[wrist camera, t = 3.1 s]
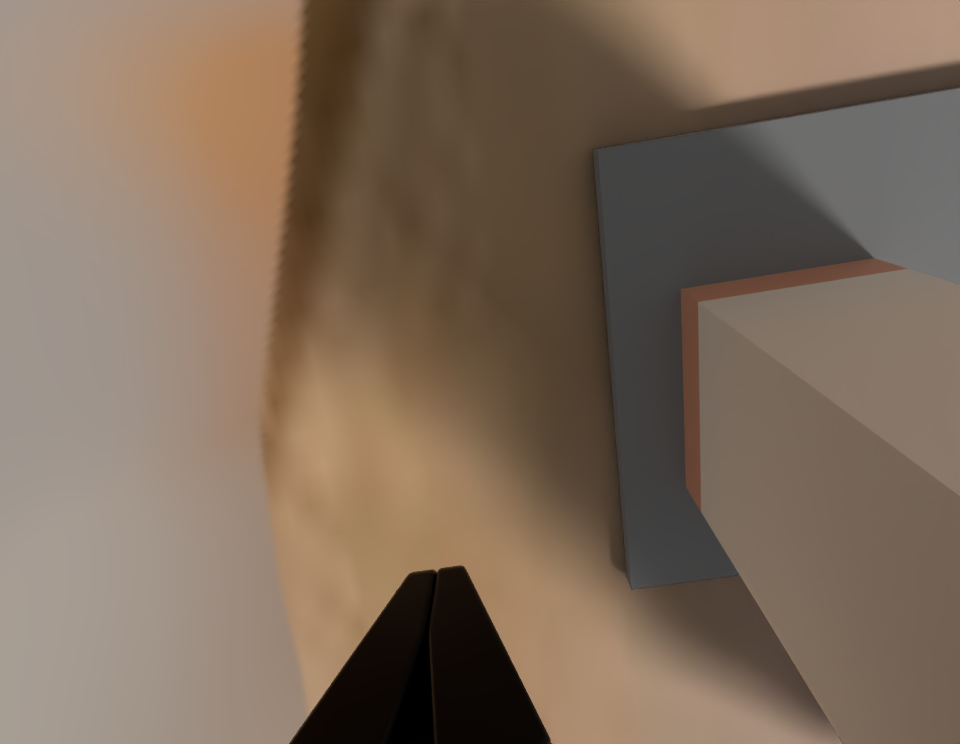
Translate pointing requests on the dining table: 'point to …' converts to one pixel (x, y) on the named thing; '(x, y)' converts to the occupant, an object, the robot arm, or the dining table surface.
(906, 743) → the tall block
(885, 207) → the rubber mat
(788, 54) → the dining table surface
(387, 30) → the dining table surface
